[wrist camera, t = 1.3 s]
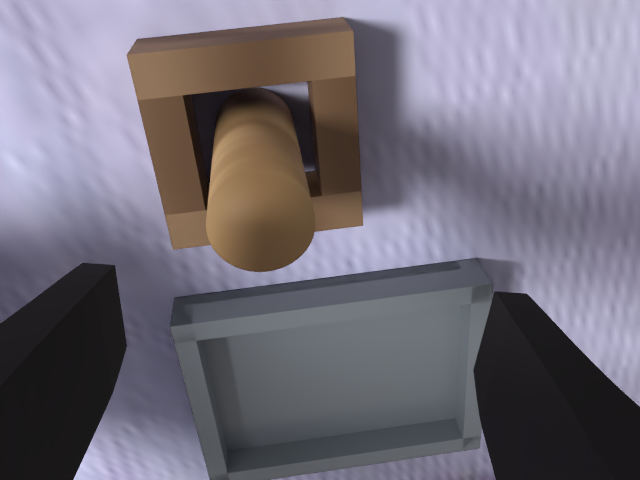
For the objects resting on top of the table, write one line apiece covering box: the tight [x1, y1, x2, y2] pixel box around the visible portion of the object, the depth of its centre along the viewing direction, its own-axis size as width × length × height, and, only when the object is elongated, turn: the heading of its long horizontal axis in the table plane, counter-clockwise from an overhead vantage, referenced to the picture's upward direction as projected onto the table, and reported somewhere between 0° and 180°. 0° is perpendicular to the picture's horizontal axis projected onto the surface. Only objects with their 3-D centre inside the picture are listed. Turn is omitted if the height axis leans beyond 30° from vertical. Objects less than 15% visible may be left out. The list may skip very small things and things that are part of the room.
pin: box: [206, 88, 315, 272], centre depth 18 cm, size 3×3×7 cm
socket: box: [127, 17, 363, 250], centre depth 20 cm, size 6×6×2 cm
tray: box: [170, 258, 493, 480], centre depth 26 cm, size 12×9×2 cm
